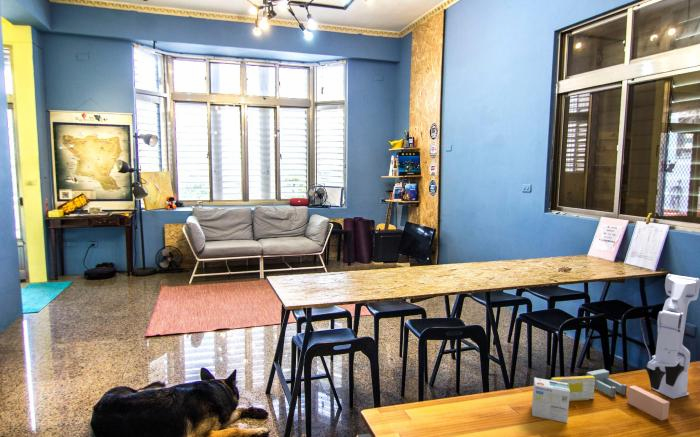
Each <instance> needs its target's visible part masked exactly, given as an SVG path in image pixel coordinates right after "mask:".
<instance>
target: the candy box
mask: <svg viewBox="0 0 700 437" xmlns="http://www.w3.org/2000/svg"><path fill="white" fill-rule="evenodd" d="M550 380H552V381H558V382H565V383H568V387H569V390H570V397H569V402H573V401H575V402H576V401H590V400H589V399H594V400H595V377H594V376H587V375H581V376H555V377H551V379H550Z"/></svg>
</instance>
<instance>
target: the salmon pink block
mask: <svg viewBox="0 0 700 437" xmlns="http://www.w3.org/2000/svg"><path fill="white" fill-rule="evenodd" d="M626 403H627V404H629V405H631V406H632V407H635V408H636V409H638V410H641V411H643V412H645V413H646V414H649V415H650V416H652V417H654V418H656V419H658V420H660V421H665V420H668V418H669V410H670V401H669V400H666V399H664V398H662V397H661V396H659V395H656V394H653V393H652V392H649V391H647V390H645V389H643V388H641V387H639V386H637V385H630V386H628V387H627V398H626Z"/></svg>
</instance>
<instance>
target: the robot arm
mask: <svg viewBox="0 0 700 437" xmlns="http://www.w3.org/2000/svg"><path fill="white" fill-rule="evenodd" d="M664 282H665V283H664V289H665V293H666V296H669V297H668V298H667V299H665V302H664V303H663V304H664V305H663V307H662V310H660V311H659V312H658V315H657V322H656V323H657V340H656V348H655V354H654V355H652V356H651V358H652V359H651V360H650V361H648V362H647V364H646V365H645V366H644V369H645V370H646V372H647V375H648V378H649V384H650V388H651V390H653V391H655V392H658V393H660V394H662V395H664V396H666V397H668V398H671V399H677V398H680V397H685V396H690V393H689V392H687V390H688V383H689V382H688V381H689V374H688V372H689V368H690V363H691V362H690V361H691V351H690V350H689V349H688V348H687V347H686V346H684V344H683V340H684V335H685V328H686V320H687V315H688V309H689V308H688V307H689V304H690V303H691V302H693V301H698V300H697V299H699V293H700V278H699V277H691V276H683V275H677V274H671V273H668V274H666V277H665V281H664Z"/></svg>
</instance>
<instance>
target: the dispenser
mask: <svg viewBox="0 0 700 437" xmlns="http://www.w3.org/2000/svg"><path fill="white" fill-rule="evenodd" d="M586 376H594V377H595V388H597V389H598V390H597V389H596V390H597V391H599V390H600V391H599V392H601V391H602V392H601V393H603V392H604V393H603V394H605V393H606V394H605V395H607V394H608V395H607V396H609V395H610V396H611V398H612V397H614V398H616V394H617V393H618V392H619V394H620V393H621V394H620V395H623V396H626V395H627V392H628V385H627V384H625V383H623V384H622V383H620V382H618V381H616V380H614V379H611V378H610V371H609V370H606V369H605V368H602V369H601V368H600V369H597V370H593V371H592V370H591V371H587V372H586ZM616 391H617V393H616ZM610 396H609V397H610Z"/></svg>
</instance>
